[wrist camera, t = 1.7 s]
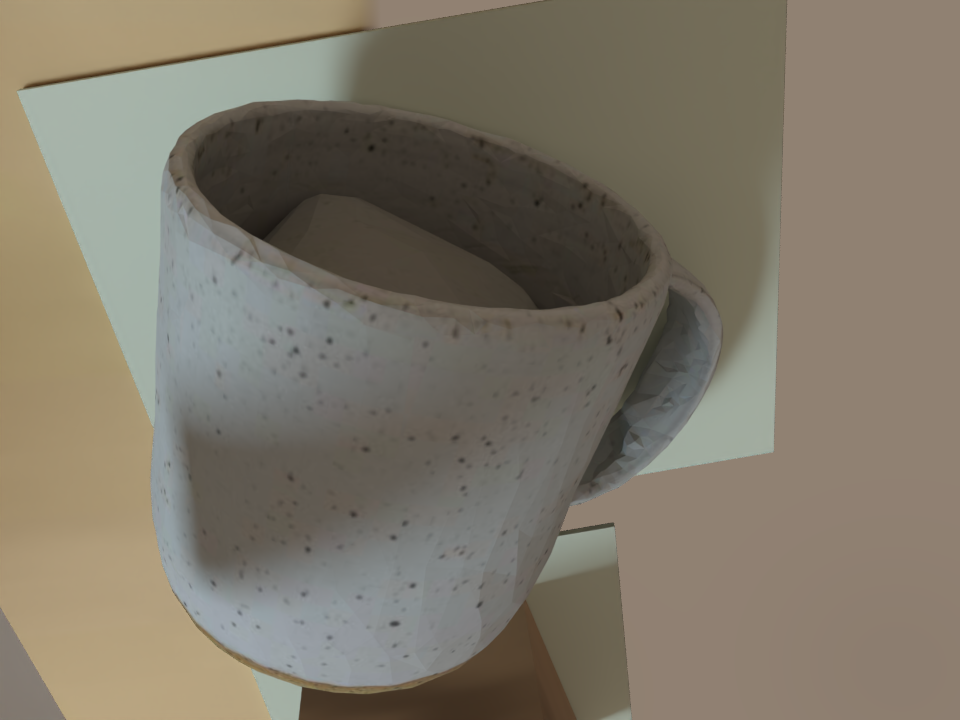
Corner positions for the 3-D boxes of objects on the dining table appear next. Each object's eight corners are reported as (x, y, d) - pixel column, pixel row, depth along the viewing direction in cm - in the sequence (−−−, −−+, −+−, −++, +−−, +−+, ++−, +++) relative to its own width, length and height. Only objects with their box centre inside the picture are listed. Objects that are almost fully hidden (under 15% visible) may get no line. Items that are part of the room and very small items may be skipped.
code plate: (203, 544, 21) (201, 550, 21) (19, 88, 16) (15, 91, 16) (771, 448, 21) (774, 453, 21) (784, -41, 16) (788, -40, 16)
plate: (315, 822, 27) (315, 828, 27) (221, 588, 22) (220, 594, 22) (635, 768, 27) (636, 774, 27) (613, 522, 22) (614, 527, 22)
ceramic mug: (185, 439, 20) (89, 741, 13) (214, 66, 16) (100, 226, 9) (632, 492, 22) (744, 775, 15) (753, 175, 18) (977, 368, 11)
